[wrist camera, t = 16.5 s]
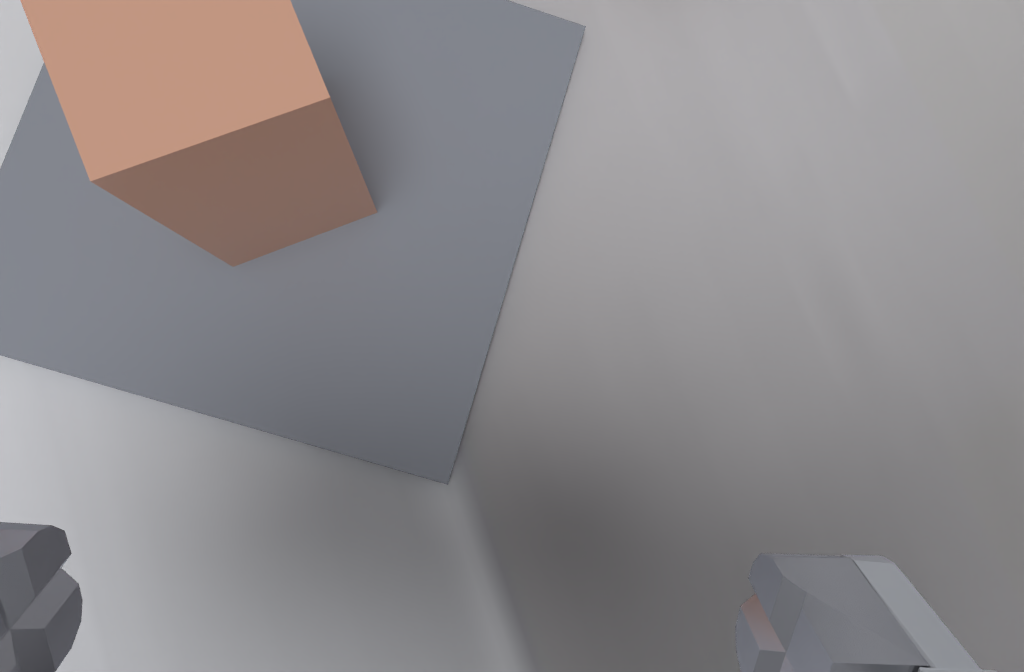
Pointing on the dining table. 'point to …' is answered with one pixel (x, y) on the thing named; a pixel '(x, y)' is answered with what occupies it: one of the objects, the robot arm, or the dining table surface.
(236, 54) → the tall peach block
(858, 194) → the dining table surface
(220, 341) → the slate mat
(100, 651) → the dining table surface
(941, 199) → the dining table surface
